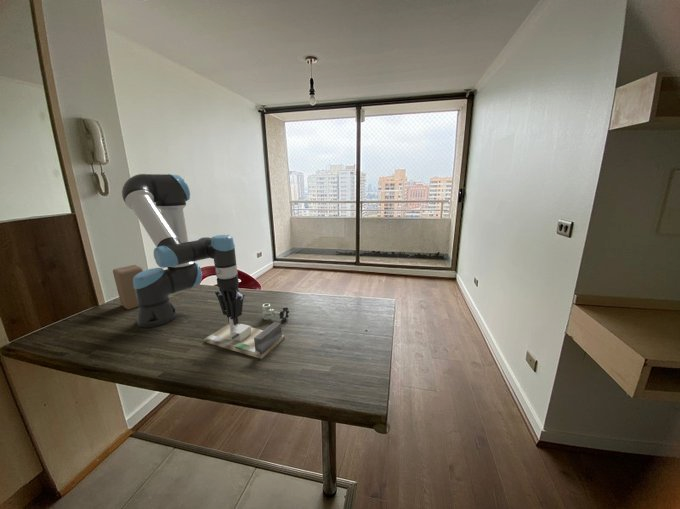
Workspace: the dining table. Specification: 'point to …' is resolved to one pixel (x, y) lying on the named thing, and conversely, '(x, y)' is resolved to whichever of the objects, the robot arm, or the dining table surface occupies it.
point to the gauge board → (249, 340)
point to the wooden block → (127, 285)
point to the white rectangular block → (240, 332)
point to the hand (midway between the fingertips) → (234, 331)
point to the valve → (273, 312)
